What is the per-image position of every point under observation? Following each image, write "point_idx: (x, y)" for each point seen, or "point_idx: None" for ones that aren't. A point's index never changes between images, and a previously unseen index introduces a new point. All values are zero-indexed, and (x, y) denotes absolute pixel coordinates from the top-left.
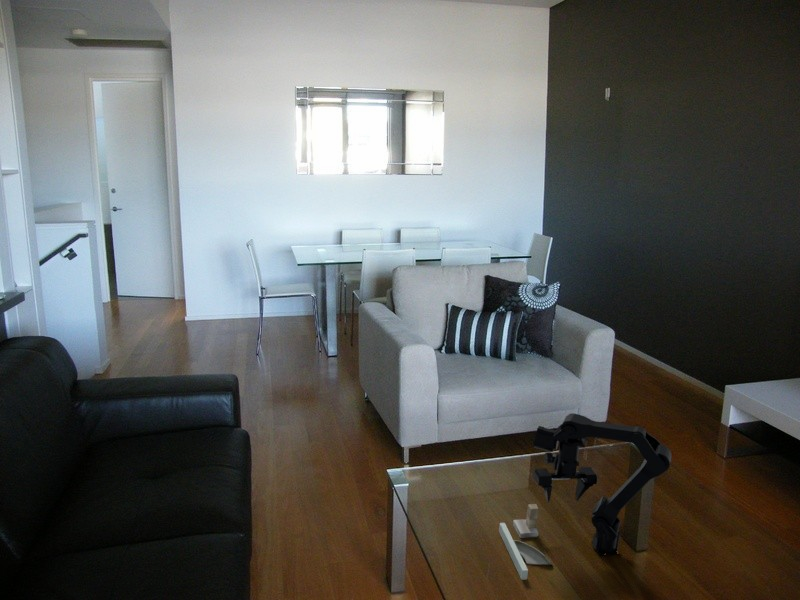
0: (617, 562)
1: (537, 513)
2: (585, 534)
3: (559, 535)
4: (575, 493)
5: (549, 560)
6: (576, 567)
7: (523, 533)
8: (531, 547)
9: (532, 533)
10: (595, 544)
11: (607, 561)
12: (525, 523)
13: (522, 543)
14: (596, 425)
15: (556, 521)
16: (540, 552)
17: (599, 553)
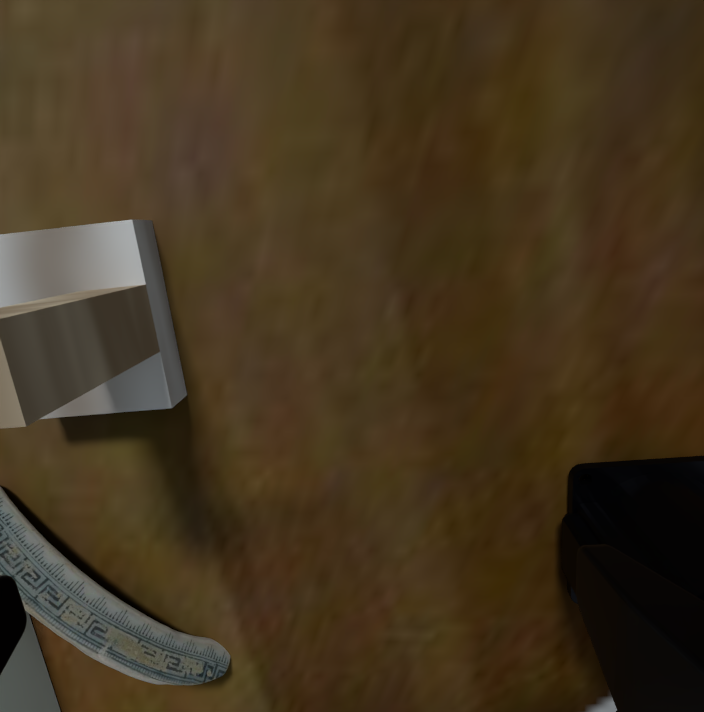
0: None
1: (68, 400)
2: (571, 366)
3: (354, 379)
4: (646, 624)
5: (195, 683)
6: (371, 673)
7: (53, 417)
8: (65, 637)
9: (126, 409)
10: (575, 580)
11: None
12: (77, 289)
13: None
14: None
15: (384, 189)
16: (126, 673)
17: (573, 593)
